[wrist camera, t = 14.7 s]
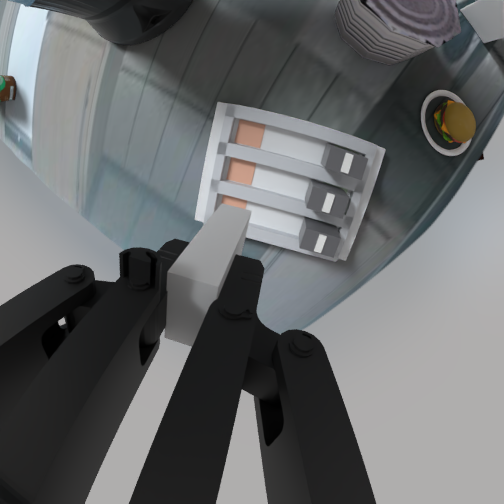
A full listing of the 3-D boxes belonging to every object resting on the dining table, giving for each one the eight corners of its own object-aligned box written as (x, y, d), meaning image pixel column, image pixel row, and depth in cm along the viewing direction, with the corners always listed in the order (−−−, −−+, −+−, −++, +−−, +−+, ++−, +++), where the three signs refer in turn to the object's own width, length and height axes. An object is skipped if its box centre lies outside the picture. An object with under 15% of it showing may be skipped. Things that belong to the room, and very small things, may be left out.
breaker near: (320, 163, 29) (324, 168, 25) (326, 143, 28) (331, 145, 24) (353, 174, 29) (362, 180, 25) (359, 154, 28) (369, 158, 24)
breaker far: (298, 234, 33) (299, 249, 29) (304, 216, 32) (306, 228, 28) (329, 243, 33) (333, 258, 29) (335, 225, 32) (341, 239, 28)
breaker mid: (304, 198, 31) (306, 208, 27) (310, 179, 30) (313, 186, 26) (336, 208, 31) (342, 219, 27) (343, 189, 30) (350, 198, 26)
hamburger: (419, 174, 30) (438, 182, 25) (395, 84, 25) (412, 78, 20) (482, 158, 26) (504, 165, 21) (463, 77, 22) (485, 73, 17)
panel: (198, 216, 36) (191, 222, 33) (220, 102, 29) (214, 100, 27) (343, 255, 35) (347, 265, 33) (381, 148, 29) (389, 149, 26)
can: (368, -19, 18) (393, -63, 7) (432, 40, 20) (481, 16, 10) (314, 20, 23) (323, -27, 12) (384, 82, 25) (427, 64, 14)
